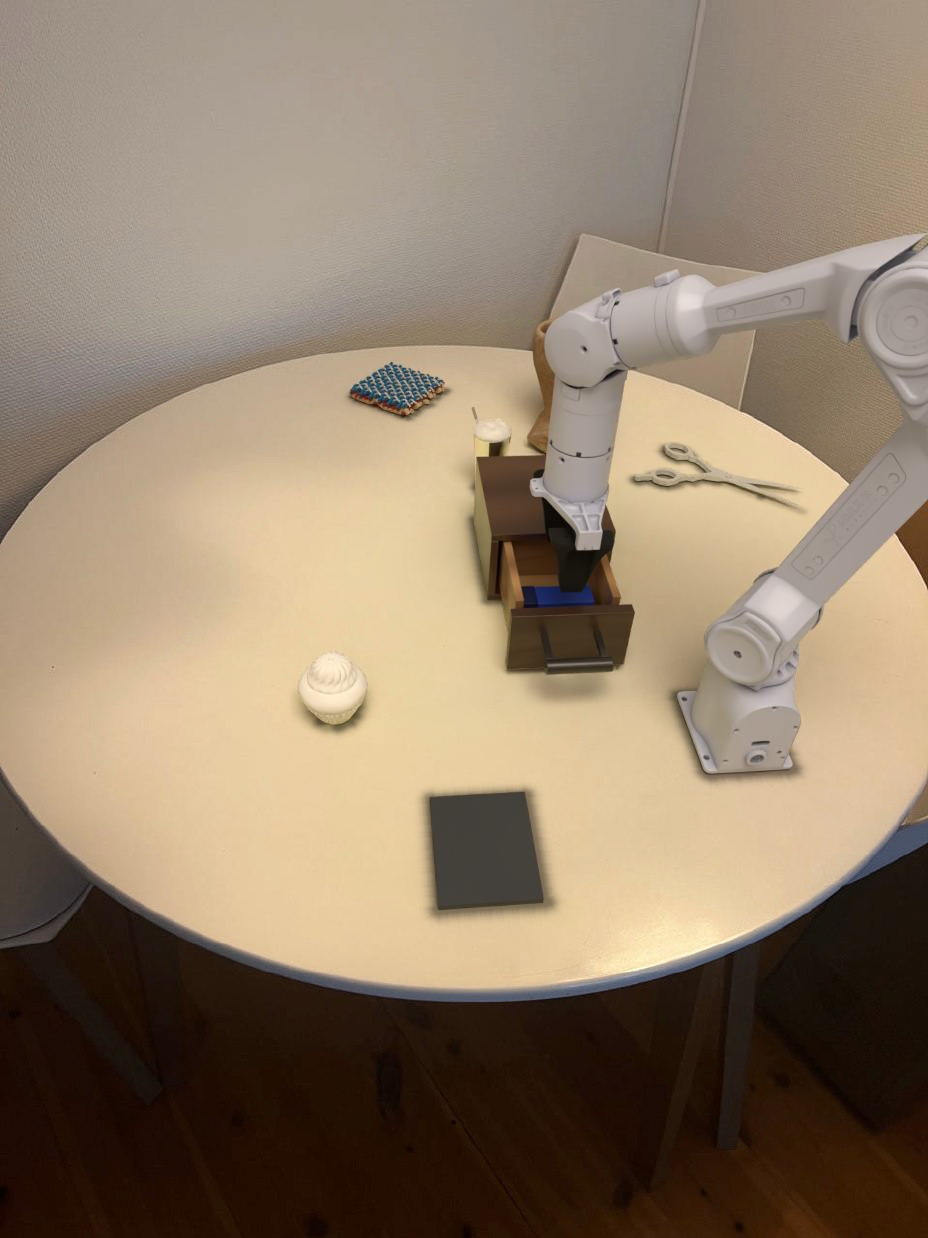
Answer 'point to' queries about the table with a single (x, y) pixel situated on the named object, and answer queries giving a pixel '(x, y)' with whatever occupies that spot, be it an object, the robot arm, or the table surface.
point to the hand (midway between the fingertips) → (564, 564)
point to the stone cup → (542, 387)
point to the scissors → (711, 473)
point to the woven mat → (397, 389)
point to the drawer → (560, 615)
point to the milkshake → (491, 437)
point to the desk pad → (484, 851)
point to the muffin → (332, 687)
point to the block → (555, 597)
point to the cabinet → (509, 510)
